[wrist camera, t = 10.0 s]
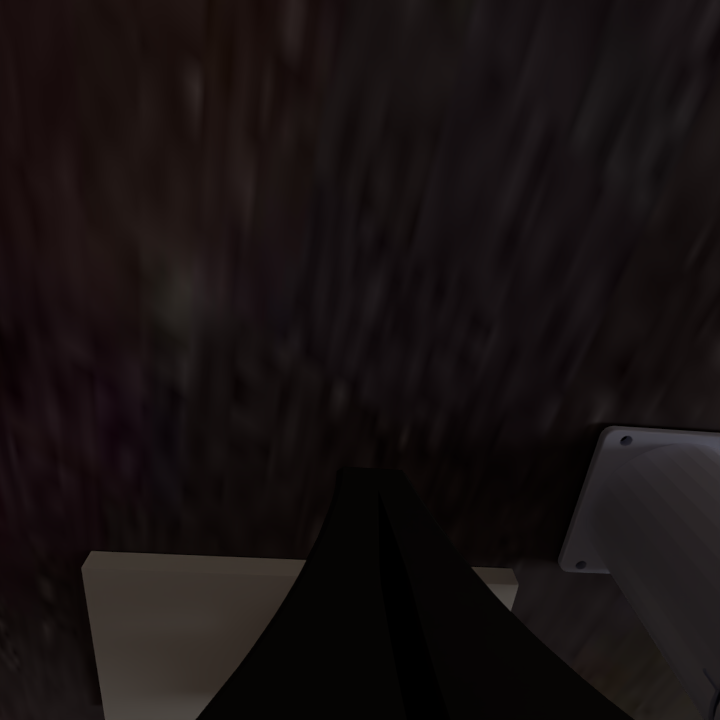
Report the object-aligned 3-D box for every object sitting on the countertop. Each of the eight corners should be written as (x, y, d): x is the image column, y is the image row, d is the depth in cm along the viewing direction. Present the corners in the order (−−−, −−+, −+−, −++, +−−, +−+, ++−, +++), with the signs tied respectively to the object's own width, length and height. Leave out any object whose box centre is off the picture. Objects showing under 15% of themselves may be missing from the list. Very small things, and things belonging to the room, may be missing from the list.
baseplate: (511, 568, 25) (518, 584, 24) (470, 710, 29) (474, 729, 28) (91, 550, 23) (81, 567, 22) (113, 704, 27) (106, 723, 26)
